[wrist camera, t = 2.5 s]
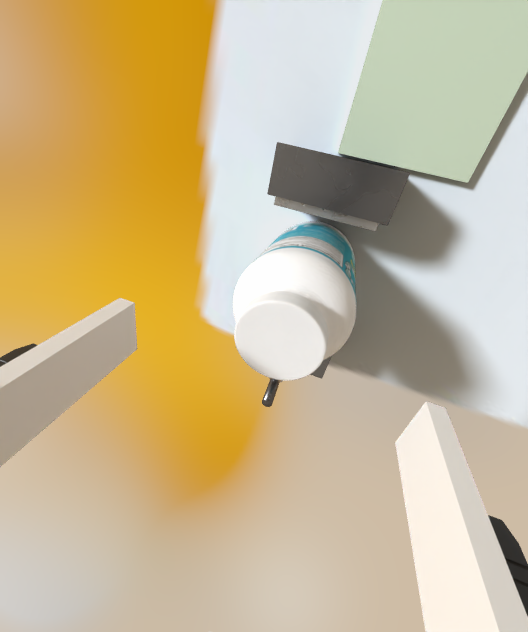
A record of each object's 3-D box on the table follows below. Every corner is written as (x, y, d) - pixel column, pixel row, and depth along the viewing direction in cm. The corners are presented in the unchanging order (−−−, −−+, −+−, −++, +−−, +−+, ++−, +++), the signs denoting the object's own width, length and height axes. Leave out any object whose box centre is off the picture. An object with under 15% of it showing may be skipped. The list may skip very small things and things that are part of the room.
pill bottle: (332, 311, 27) (316, 421, 15) (262, 281, 27) (196, 366, 16) (372, 238, 23) (389, 316, 11) (289, 204, 23) (226, 247, 12)
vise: (294, 146, 22) (273, 141, 16) (396, 169, 21) (413, 173, 15) (250, 351, 33) (227, 392, 27) (314, 373, 32) (305, 421, 26)
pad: (391, -28, 16) (392, -34, 15) (564, -4, 14) (571, -10, 14) (338, 153, 20) (337, 152, 20) (464, 182, 19) (467, 182, 19)
